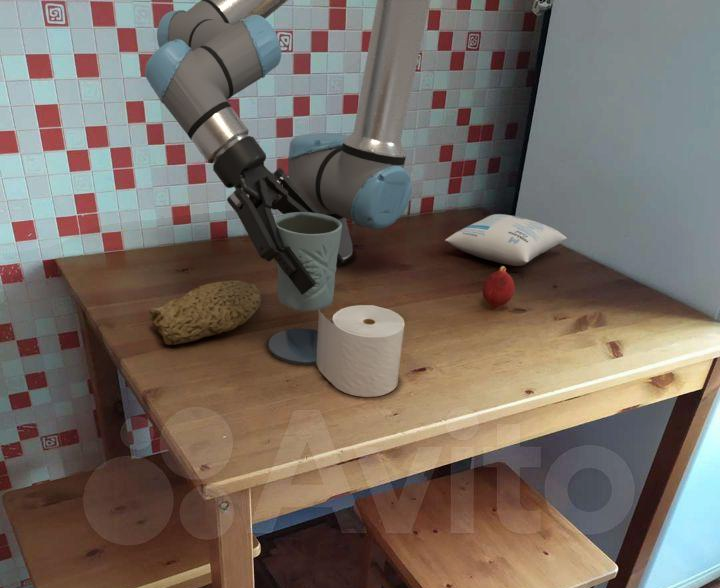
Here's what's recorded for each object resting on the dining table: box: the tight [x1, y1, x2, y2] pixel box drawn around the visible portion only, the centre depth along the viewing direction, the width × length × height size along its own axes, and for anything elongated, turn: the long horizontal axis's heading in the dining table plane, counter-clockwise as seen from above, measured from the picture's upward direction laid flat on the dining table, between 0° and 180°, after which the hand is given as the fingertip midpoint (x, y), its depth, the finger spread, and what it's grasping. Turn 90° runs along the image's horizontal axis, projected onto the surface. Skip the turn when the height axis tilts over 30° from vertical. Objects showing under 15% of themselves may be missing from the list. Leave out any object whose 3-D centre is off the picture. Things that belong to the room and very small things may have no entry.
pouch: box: [444, 213, 568, 267], centre depth 161 cm, size 8×19×20 cm
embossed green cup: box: [274, 212, 342, 312], centre depth 115 cm, size 10×10×12 cm
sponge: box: [148, 279, 262, 346], centre depth 125 cm, size 13×8×20 cm
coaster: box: [268, 328, 318, 366], centre depth 124 cm, size 12×12×1 cm
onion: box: [482, 265, 515, 309], centre depth 140 cm, size 6×6×8 cm
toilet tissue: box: [315, 304, 406, 398], centre depth 114 cm, size 11×12×10 cm
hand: (324, 277), depth 115 cm, fingers closed on embossed green cup, 10 cm apart
